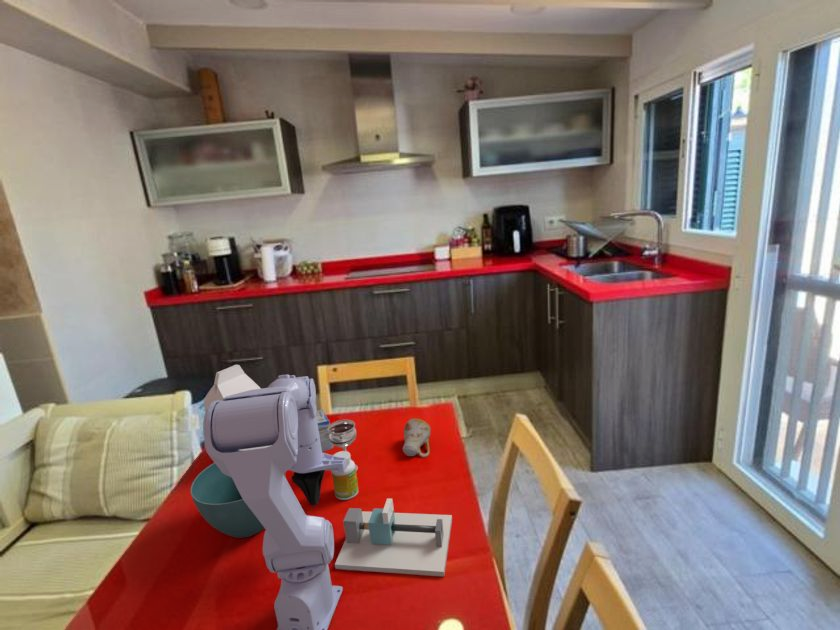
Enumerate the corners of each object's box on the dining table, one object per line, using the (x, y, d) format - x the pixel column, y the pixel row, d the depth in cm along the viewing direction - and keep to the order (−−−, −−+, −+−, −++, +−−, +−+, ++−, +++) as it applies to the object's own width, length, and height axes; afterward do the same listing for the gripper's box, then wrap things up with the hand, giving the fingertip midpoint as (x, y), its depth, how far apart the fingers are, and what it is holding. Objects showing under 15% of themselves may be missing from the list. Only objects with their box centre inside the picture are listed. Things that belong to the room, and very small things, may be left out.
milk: (242, 475, 112) (220, 381, 105) (214, 464, 118) (193, 374, 111) (279, 451, 121) (261, 363, 115) (252, 442, 128) (234, 358, 121)
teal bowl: (311, 511, 96) (302, 462, 93) (237, 571, 82) (224, 515, 79) (260, 487, 106) (250, 442, 103) (186, 536, 92) (172, 486, 89)
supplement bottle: (354, 501, 98) (348, 463, 96) (331, 500, 99) (325, 462, 97) (361, 486, 103) (356, 449, 101) (340, 484, 104) (334, 448, 102)
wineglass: (364, 472, 108) (358, 428, 105) (337, 481, 106) (330, 436, 103) (357, 458, 114) (351, 417, 111) (331, 466, 112) (325, 424, 109)
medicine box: (312, 440, 125) (307, 413, 123) (327, 435, 127) (322, 408, 125) (317, 453, 118) (312, 424, 116) (334, 448, 120) (329, 420, 118)
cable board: (444, 576, 77) (441, 548, 75) (335, 568, 80) (330, 541, 79) (452, 519, 90) (449, 494, 88) (358, 515, 94) (355, 490, 92)
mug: (396, 460, 112) (392, 420, 115) (414, 457, 121) (410, 419, 123) (421, 458, 109) (417, 417, 112) (438, 454, 118) (434, 416, 120)
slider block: (391, 544, 83) (387, 513, 81) (371, 543, 84) (366, 512, 82) (396, 528, 87) (392, 498, 85) (376, 528, 87) (372, 497, 86)
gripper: (348, 428, 83) (357, 489, 87) (277, 427, 86) (289, 487, 90) (335, 448, 77) (345, 514, 80) (259, 447, 79) (272, 511, 83)
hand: (315, 501), depth 84 cm, fingers closed
